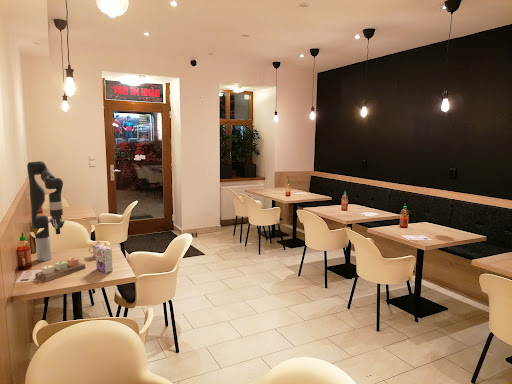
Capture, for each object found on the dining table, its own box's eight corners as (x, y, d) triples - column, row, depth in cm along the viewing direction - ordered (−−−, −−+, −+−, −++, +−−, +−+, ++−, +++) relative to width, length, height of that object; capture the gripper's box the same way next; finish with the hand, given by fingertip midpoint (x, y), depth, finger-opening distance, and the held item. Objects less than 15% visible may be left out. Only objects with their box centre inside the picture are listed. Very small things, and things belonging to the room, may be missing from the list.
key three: (67, 265, 265) (67, 259, 264) (74, 263, 269) (73, 257, 268) (72, 266, 262) (71, 260, 262) (78, 264, 266) (78, 258, 266)
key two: (55, 269, 257) (54, 263, 256) (62, 267, 261) (61, 260, 261) (59, 270, 254) (59, 264, 254) (66, 268, 259) (66, 262, 258)
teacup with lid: (106, 253, 301) (105, 239, 300) (105, 257, 293) (104, 242, 291) (90, 254, 298) (89, 240, 297) (88, 258, 290) (87, 243, 288)
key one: (42, 273, 249) (41, 267, 249) (49, 271, 254) (48, 264, 253) (46, 274, 247) (46, 268, 246) (54, 272, 251) (53, 266, 250)
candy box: (96, 268, 266) (94, 245, 264) (104, 266, 270) (103, 244, 268) (104, 273, 256) (103, 249, 254) (113, 271, 260) (111, 248, 258)
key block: (35, 278, 249) (35, 273, 249) (74, 265, 273) (74, 261, 273) (46, 281, 243) (46, 276, 243) (85, 268, 267) (85, 264, 267)
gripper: (44, 208, 252) (46, 234, 255) (56, 210, 246) (58, 236, 248) (55, 206, 259) (57, 231, 261) (67, 208, 252) (69, 233, 254)
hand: (58, 234), depth 255 cm, fingers closed
